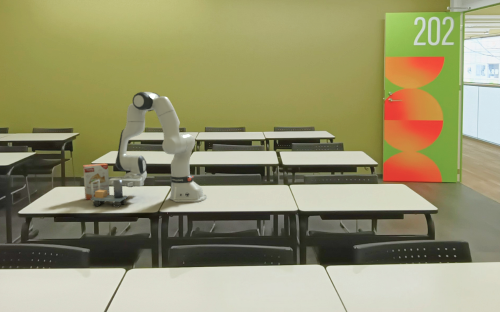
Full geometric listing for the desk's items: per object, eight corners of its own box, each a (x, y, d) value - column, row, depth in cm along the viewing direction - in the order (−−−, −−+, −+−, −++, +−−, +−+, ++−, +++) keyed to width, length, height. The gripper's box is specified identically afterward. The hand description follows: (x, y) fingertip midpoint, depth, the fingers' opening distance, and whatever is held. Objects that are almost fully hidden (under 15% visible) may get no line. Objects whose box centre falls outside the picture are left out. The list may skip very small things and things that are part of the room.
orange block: (107, 195, 279) (107, 189, 278) (103, 197, 274) (102, 192, 274) (99, 195, 280) (99, 189, 280) (95, 197, 275) (94, 191, 275)
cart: (127, 203, 279) (126, 179, 277) (120, 207, 271) (118, 183, 268) (99, 202, 283) (98, 178, 281) (91, 206, 275) (89, 182, 272)
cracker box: (86, 200, 288) (84, 166, 285) (85, 198, 293) (82, 164, 290) (110, 197, 295) (108, 164, 291) (108, 195, 300) (106, 162, 296)
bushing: (124, 196, 277) (123, 179, 275) (120, 198, 272) (119, 181, 270) (116, 196, 278) (115, 179, 276) (112, 198, 273) (111, 181, 271)
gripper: (114, 174, 290) (103, 179, 277) (145, 175, 286) (135, 180, 273) (115, 184, 291) (103, 189, 278) (146, 185, 287) (136, 190, 274)
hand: (119, 184), depth 275 cm, fingers open, 8 cm apart
